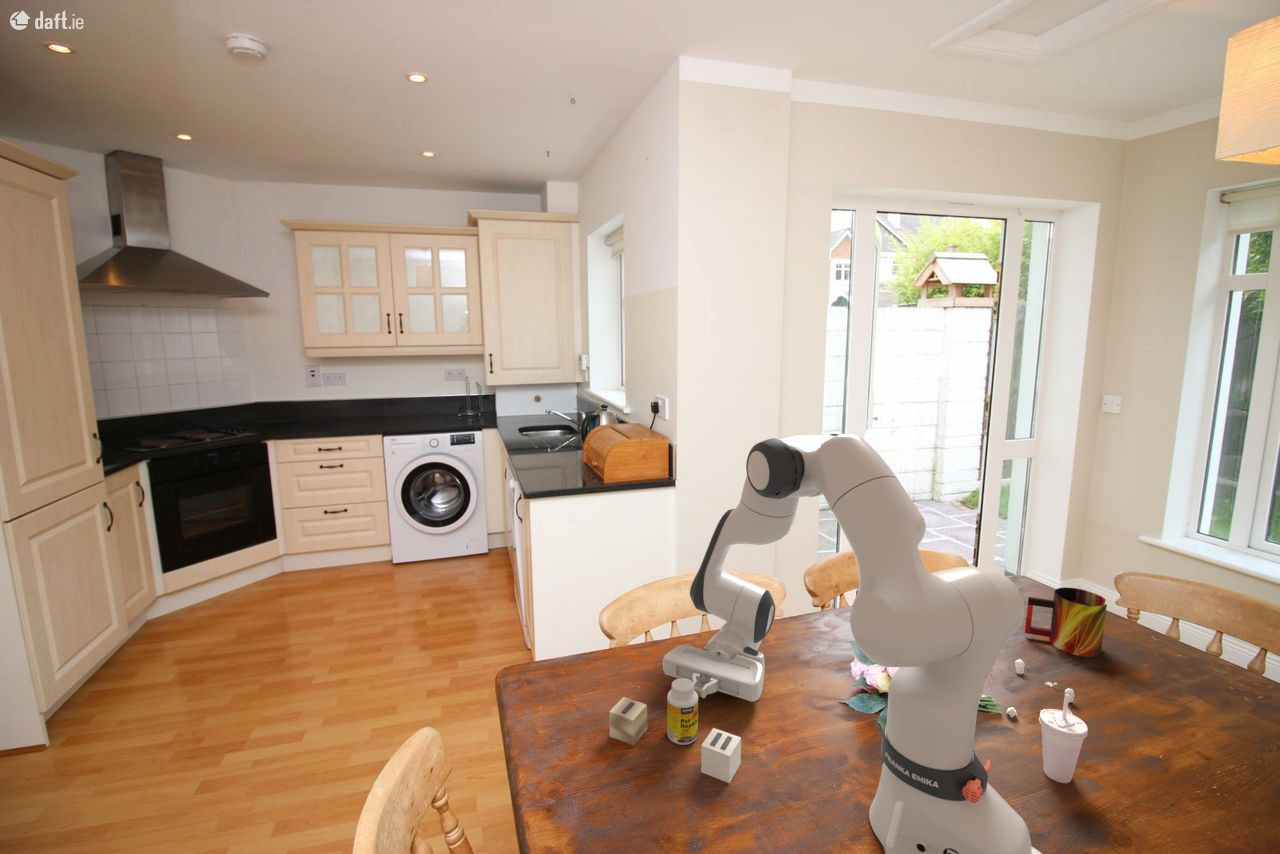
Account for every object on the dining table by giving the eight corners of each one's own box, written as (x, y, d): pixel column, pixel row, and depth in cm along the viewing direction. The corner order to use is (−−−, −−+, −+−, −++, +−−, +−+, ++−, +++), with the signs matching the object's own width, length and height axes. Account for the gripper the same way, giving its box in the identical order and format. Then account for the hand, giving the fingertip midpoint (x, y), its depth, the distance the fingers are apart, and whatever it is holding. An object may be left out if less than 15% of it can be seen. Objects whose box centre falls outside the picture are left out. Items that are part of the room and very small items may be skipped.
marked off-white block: (740, 764, 99) (741, 736, 98) (729, 783, 95) (729, 754, 94) (713, 753, 102) (713, 726, 101) (701, 772, 97) (701, 744, 96)
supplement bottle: (679, 751, 102) (679, 697, 101) (661, 733, 107) (660, 681, 105) (704, 738, 105) (704, 686, 104) (685, 722, 110) (685, 671, 108)
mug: (1022, 635, 139) (1026, 588, 138) (1078, 634, 140) (1084, 586, 138) (1051, 658, 130) (1057, 607, 128) (1112, 656, 130) (1118, 605, 128)
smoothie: (1085, 774, 96) (1094, 696, 94) (1077, 796, 91) (1087, 714, 89) (1039, 754, 100) (1047, 679, 98) (1029, 774, 96) (1037, 696, 94)
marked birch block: (647, 729, 108) (646, 703, 107) (633, 746, 104) (633, 719, 103) (624, 721, 110) (623, 695, 110) (609, 736, 106) (609, 710, 105)
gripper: (679, 631, 127) (648, 662, 115) (771, 656, 117) (748, 693, 105) (679, 658, 128) (648, 691, 116) (771, 685, 118) (747, 725, 106)
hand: (696, 692), depth 110 cm, fingers closed
